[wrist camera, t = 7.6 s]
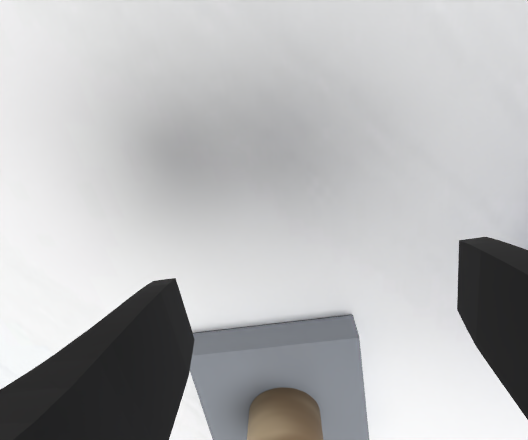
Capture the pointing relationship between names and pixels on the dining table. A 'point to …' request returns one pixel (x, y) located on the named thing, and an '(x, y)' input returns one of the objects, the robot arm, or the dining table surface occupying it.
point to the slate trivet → (282, 373)
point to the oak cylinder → (284, 416)
